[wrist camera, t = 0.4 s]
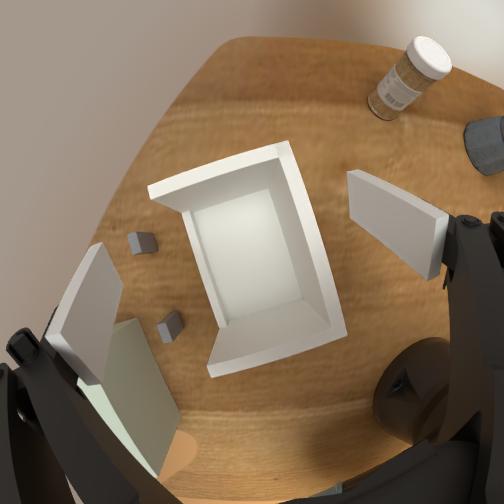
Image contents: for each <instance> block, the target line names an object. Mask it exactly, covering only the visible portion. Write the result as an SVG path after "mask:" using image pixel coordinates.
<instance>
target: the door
mask: <svg viewBox="0 0 504 504" xmlns="http://www.w3.org/2000/svg"><path fill="white" fill-rule="evenodd" d="M77 385H78V386H79V387H80V388H81V389H82V390H83V392H84V393H85V395H86V396H87V398H88V399H89V401H90V402H91V404H92V405H93V406H94V408H95V409H96V411H97V412H98V413H99V415H100V416H101V417H102V419H103V420H104V421H105V423H106V424H107V425H108V426H109V428H110V429H111V430H112V431H113V433H114V434H115V435H116V436H117V438H118V439H119V440H120V441H121V442H122V444H123V445H124V446H125V447H126V448H127V449H128V450H129V452H130V453H131V454H132V455H133V456H134V457H135V458H136V459H137V460H138V461H139V462H140V464H141V465H142V466H143V467H144V468H145V469H146V470H147V471H148V472H149V473H150V474H151V475H152V476H153V477H158V476H159V474H160V471H161V469H162V466H163V463H164V461H165V458H166V455H167V453H168V450H169V448H170V445H171V442H172V440H173V437H174V435H175V432H176V429H177V427H178V424H179V422H180V419H181V416H182V415H181V413H180V411H179V410H178V408H177V406H176V404H175V402H174V400H173V398H172V396H171V394H170V391H169V389H168V387H167V385H166V383H165V381H164V379H163V377H162V374H161V372H160V370H159V368H158V366H157V363H156V361H155V359H154V356H153V354H152V352H151V349H150V347H149V344H148V342H147V339H146V337H145V334H144V332H143V329H142V327H141V324H140V321H139V319H138V317H137V318H134V319H130V320H126V321H123V322H119V323H117V324H115V325H114V326H113V331H112V336H111V340H110V345H109V350H108V356H107V361H106V367H105V372H104V378H103V384H98V385H91V386H87V385H86V384H85V383H84V382H83V381H82V380H81V379H80V378H78V382H77Z"/></svg>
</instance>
